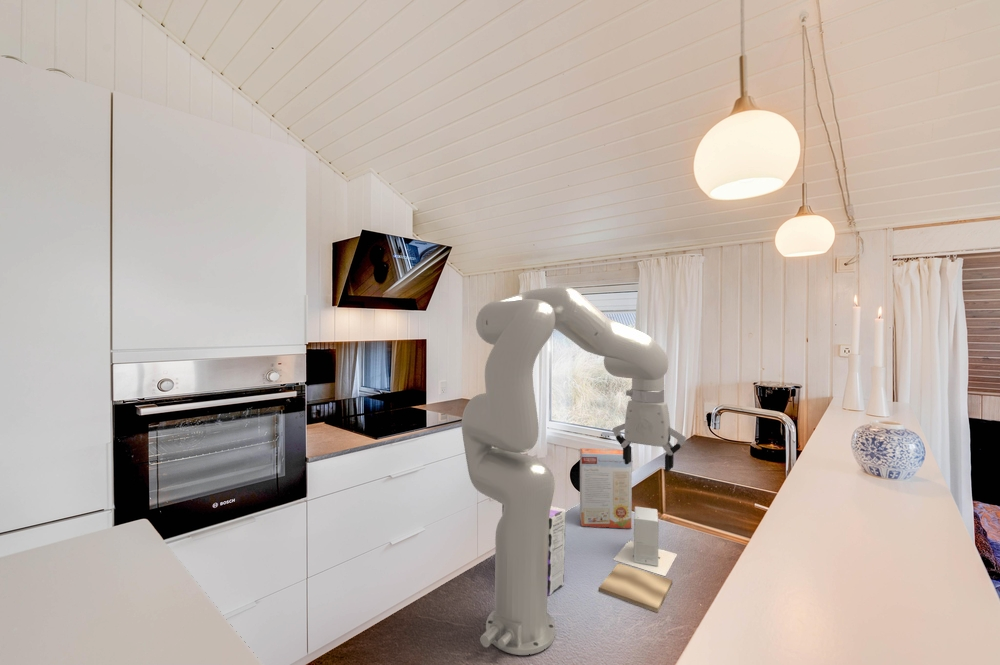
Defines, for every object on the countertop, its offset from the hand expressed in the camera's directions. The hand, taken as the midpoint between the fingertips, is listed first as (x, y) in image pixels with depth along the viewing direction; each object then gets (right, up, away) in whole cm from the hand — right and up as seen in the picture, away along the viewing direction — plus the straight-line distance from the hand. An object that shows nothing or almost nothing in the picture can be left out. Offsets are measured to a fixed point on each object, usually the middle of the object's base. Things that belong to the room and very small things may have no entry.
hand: (647, 466), depth 105 cm
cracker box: (-6, -22, +18) cm, 29 cm away
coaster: (-7, -22, -13) cm, 26 cm away
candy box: (-29, -22, -10) cm, 38 cm away
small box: (-1, -22, 0) cm, 22 cm away
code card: (-1, -22, 0) cm, 22 cm away
